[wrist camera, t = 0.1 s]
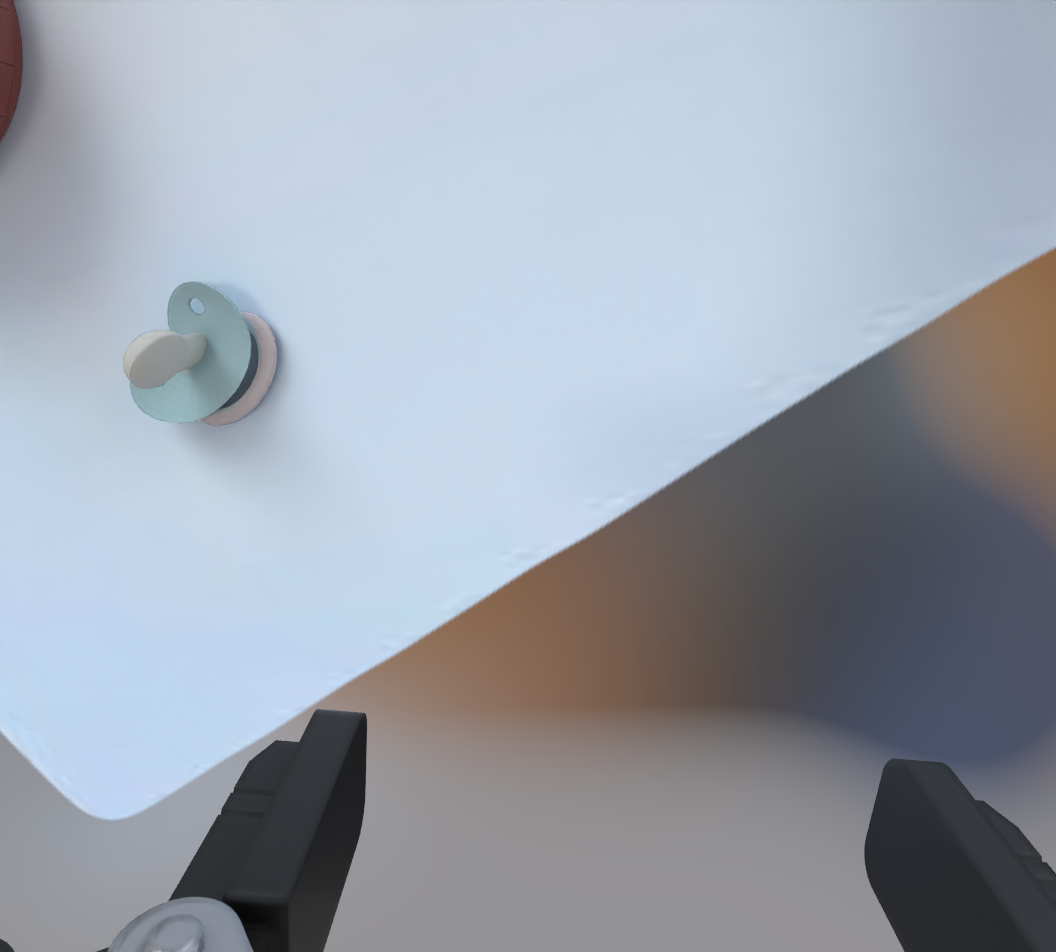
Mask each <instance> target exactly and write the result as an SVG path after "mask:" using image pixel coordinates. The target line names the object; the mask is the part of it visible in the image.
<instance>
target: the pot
mask: <svg viewBox="0 0 1056 952" xmlns="http://www.w3.org/2000/svg"><path fill="white" fill-rule="evenodd" d="M21 73H22V47H21V37H20V31H19V24H18V18H17V15H16V11H15V7H14V4H13V0H0V142H1V140H2V138H3V136H4V134H5V133H6V131H7V129H8V127H9V125H10V122H11V119H12V117H13V114H14V111H15V108H16V105H17V100H18V95H19V91H20V85H21Z"/></svg>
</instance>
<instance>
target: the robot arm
mask: <svg viewBox="0 0 1056 952" xmlns="http://www.w3.org/2000/svg"><path fill="white" fill-rule="evenodd" d="M366 743H367V718H366V714H365V713H358V712H345V711H334V710H322V709H317V710H316V711H315V712H314V714H313V716H312V718H311V720H310V722H309V724H308V726H307V728H306V730H305V732H304V734H303V736H302V738H301V740H300V742H290V741H278V740H277V741H275V742H273V743H272V744H271V745H269V746H268V747H267V748H266V749H265V750H263V751H262V752H261V753H259V754H258V755H257V756H256V757H254V758H253V759H252V760H251V761H249V763H248V765H247V766H246V768H245V770H244V771H243V773H242V775H241V777H240V778H239V780H238V782H237V784H236V786H235V787H234V792H233V793H231V794H230V796H229V797H228V799H227V801H226V803H225V804H224V806H223V808H222V811H221V815H218V817H217V818H216V820H215V822H214V824H213V825H212V827H211V828H210V830H209V832H208V834H207V835H206V837H205V839H204V841H203V842H202V844H201V846H200V848H199V849H198V851H197V853H196V855H195V856H194V858H193V860H192V861H191V863H190V865H189V866H188V868H187V870H186V872H185V873H184V875H183V877H182V879H181V880H180V882H179V884H178V885H177V887H176V889H175V891H174V892H173V894H172V896H171V898H170V899H169V901H168V902H165V903H162V904H160V905H157V906H155V907H153V908H151V909H149V910H147V911H146V912H144V913H142V914H141V915H139V916H138V917H137V918H135V919H134V920H132V921H131V922H130V923H129V924H128V925H127V926H126V927H125V928H124V929H122V930H121V931H120V933H119V934H118V935H117V937H116V938H115V939H114V940H113V942H112V944H111V945H110V947H108V948H106V949H103V950H100V951H97V952H323V951H324V948H325V944H326V941H327V938H328V935H329V932H330V928H331V925H332V922H333V919H334V916H335V912H336V909H337V906H338V903H339V900H340V897H341V894H342V890H343V888H344V884H345V881H346V878H347V875H348V872H349V869H350V865H351V862H352V859H353V856H354V852H355V850H356V846H357V843H358V840H359V836H360V831H361V827H362V821H363V814H364V805H365V785H366V745H367V744H366ZM1041 858H1042V857H1041V855H1040V854H1039V853H1038V851H1037V850H1036V849H1035V848H1034V847H1033V845H1032V844H1031V843H1030V842H1029V841H1028V839H1027V838H1026V837H1025V836H1024V834H1023V833H1022V832H1021V831H1020V829H1019V828H1018V827H1016V826H1015V825H1014V824H1013V823H1012V822H1010V821H1009V820H1008V819H1006V818H1005V817H1004V816H1002V815H1001V814H1000V813H998V812H997V811H996V810H994V809H993V808H992V807H991V806H989V805H988V804H987V803H985V802H984V801H977V800H975V799H974V798H973V797H972V795H971V794H970V793H969V791H968V790H967V789H966V788H965V786H964V785H963V784H962V782H961V781H960V780H959V779H958V777H957V776H956V775H955V773H954V772H953V771H952V770H951V769H950V768H949V767H948V766H947V765H946V764H944V763H940V762H927V761H916V760H904V759H891V760H889V761H888V762H887V764H886V765H885V767H884V769H883V772H882V776H881V781H880V784H879V788H878V793H877V797H876V800H875V804H874V808H873V812H872V816H871V820H870V824H869V828H868V832H867V836H866V841H865V865H866V871H867V875H868V879H869V882H870V884H871V887H872V889H873V891H874V893H875V895H876V897H877V899H878V900H879V903H880V904H881V906H882V908H883V910H884V912H885V914H886V916H887V918H888V920H889V922H890V924H891V926H892V928H893V930H894V932H895V934H896V936H897V938H898V940H899V941H900V943H901V945H902V947H903V949H904V951H905V952H1056V874H1055V872H1054V871H1053V870H1052V869H1051V867H1050V866H1049V865H1048V864H1047V863H1046V862H1042V859H1041ZM0 952H14V950H13V949H12V947H11V946H10V945H9V944H8V943H7V942H5V941H3V940H1V939H0Z"/></svg>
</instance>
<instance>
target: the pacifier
mask: <svg viewBox="0 0 1056 952" xmlns="http://www.w3.org/2000/svg"><path fill="white" fill-rule="evenodd" d="M193 298H197V299H199V300H200V301H201V302H202V303H203V305H204V308H205V311H204V313H203V314H202V315H200V314H197V313H195V312H194V311H193V309H192V308H191V304H190V302H191V300H192V299H193ZM167 315H168V325H169V328H170V331H168V330H154V331H149V332H146V333H144V334H142V335H140V336H138V337H137V338H136V339H134V340H133V341H132V342H131V343H130V345H129V346H128V348H127V349H126V352H125V354H124V358H123V367H124V371H125V374H126V376H127V378H128V379H129V380H130V388H131V394H132V397H133V399H134V402H135V403H136V404H137V406H138V407H139V408H140V409H141V410H142V411H143V412H144V413H146V414H147V415H149V416H151V417H152V418H155V419H158V420H160V421H165V422H176V423H185V422H192V421H195V420H200V421H203V422H205V423H208V424H210V425H226V424H229V423H233V422H236V421H238V420H239V419H241V418H243V417H245V416H246V415H248V414H249V413H250V412H251V411H252V410H253V409H254V408H255V407H256V406H257V405H258V404H259V403H260V401H261V400H262V398H263V397H264V396H265V394H266V393H267V391H268V389H269V386H270V384H271V382H272V380H273V377H274V373H275V369H276V365H277V347H276V342H275V337H274V335H273V333H272V331H271V329H270V327H269V325H268V324H267V323H266V322H265V321H264V320H263V319H262V318H261V317H259V316H257V315H255V314H252V313H250V312H240V311H239V310H238V308H237V307H236V306H235V305H234V304H233V302H232V301H231V300H230V299H229V298H228V297H226V296H225V295H224V294H223V293H222V292H220V291H219V290H217V289H216V288H214V287H212V286H210V285H208V284H205V283H201V282H187V283H183V284H182V285H180V286H178V287H177V288H176V289H175V290H174V291H173V293H172V295H171V297H170V300H169V304H168V313H167ZM250 333H251V334H252V335H253V337H254V339H255V341H256V343H257V347H258V352H259V358H258V367H257V371H256V375H255V377H254V379H253V381H252V383H251V385H250V387H249V388H248V390H247V391H246V392H245V394H244V395H243V396H242V397H241V398H240V399H239V400H238V401H237V402H235V403H234V404H232V405H230V406H226V407H221V406H222V405H223V404H224V403H225V402H227V401H228V400H229V399H230V398H231V396H232V395H233V394H234V393H235V392H236V390H237V389H238V387H239V386H240V384H241V382H242V381H243V379H244V377H245V374H246V372H247V369H248V366H249V362H250V358H251V338H250ZM165 382H166V383H165ZM164 383H165V384H164ZM162 384H164V385H163V386H160V385H162Z"/></svg>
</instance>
